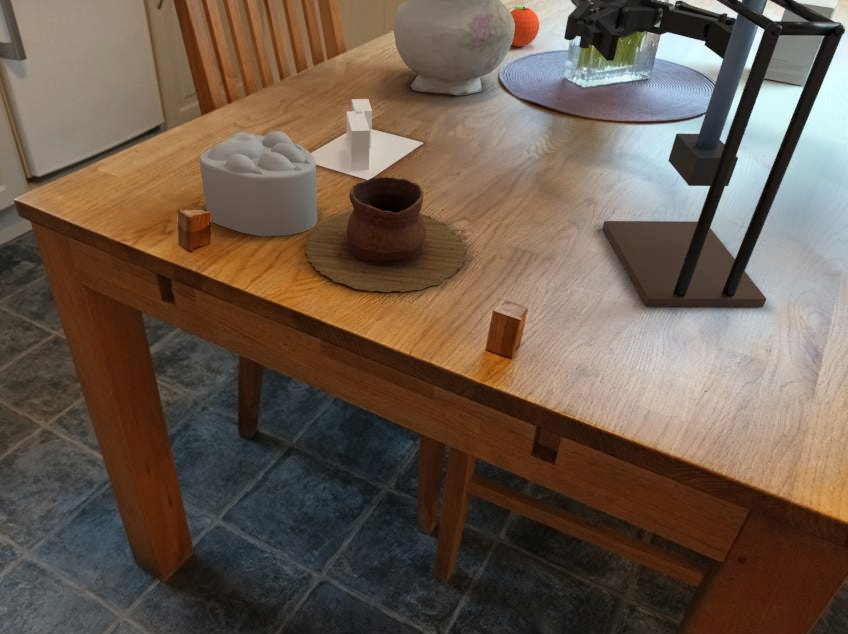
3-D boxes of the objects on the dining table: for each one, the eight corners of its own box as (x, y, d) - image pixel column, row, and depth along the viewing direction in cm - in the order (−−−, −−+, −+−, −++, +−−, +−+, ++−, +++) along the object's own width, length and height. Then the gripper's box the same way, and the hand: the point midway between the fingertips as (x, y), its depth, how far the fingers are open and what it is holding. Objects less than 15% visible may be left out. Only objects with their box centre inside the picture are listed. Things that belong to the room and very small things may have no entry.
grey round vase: (426, 63, 134) (426, -93, 119) (528, 71, 127) (542, -94, 112) (377, 100, 119) (369, -74, 104) (490, 111, 112) (499, -74, 97)
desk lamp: (600, 224, 85) (662, -25, 68) (699, 225, 85) (786, -23, 69) (645, 306, 72) (737, 24, 55) (763, 306, 72) (889, 26, 56)
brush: (641, 160, 76) (695, -33, 64) (731, 161, 76) (800, -32, 65) (661, 185, 71) (722, -18, 60) (755, 186, 72) (835, -16, 60)
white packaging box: (803, 86, 125) (835, 8, 117) (758, 78, 128) (786, 1, 120) (810, 75, 130) (840, -1, 122) (766, 67, 133) (793, -8, 125)
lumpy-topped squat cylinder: (247, 184, 91) (240, 117, 86) (335, 208, 87) (335, 139, 81) (195, 218, 84) (185, 147, 79) (289, 246, 80) (285, 173, 74)
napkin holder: (369, 180, 93) (370, 137, 89) (298, 160, 97) (296, 118, 94) (424, 142, 103) (427, 102, 99) (357, 125, 107) (358, 86, 104)
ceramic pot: (396, 315, 70) (400, 252, 66) (271, 251, 79) (266, 192, 74) (497, 245, 81) (505, 188, 76) (376, 196, 89) (378, 142, 85)
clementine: (489, 45, 141) (493, 5, 136) (507, 37, 145) (513, -1, 140) (524, 53, 137) (530, 13, 132) (542, 45, 141) (549, 6, 136)
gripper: (700, 32, 98) (771, 84, 82) (520, 29, 98) (555, 82, 81) (718, -29, 94) (798, 13, 77) (529, -33, 93) (568, 10, 76)
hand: (674, 48), depth 79 cm, fingers open, 13 cm apart
